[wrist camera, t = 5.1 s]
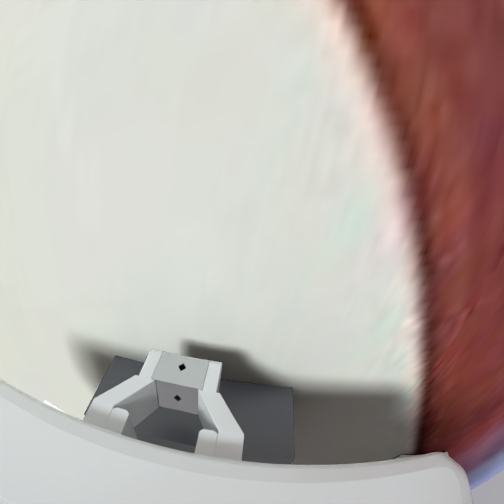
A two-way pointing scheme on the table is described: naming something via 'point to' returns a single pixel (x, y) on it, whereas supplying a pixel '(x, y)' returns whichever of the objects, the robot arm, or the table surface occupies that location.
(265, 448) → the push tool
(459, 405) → the table surface
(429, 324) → the table surface
